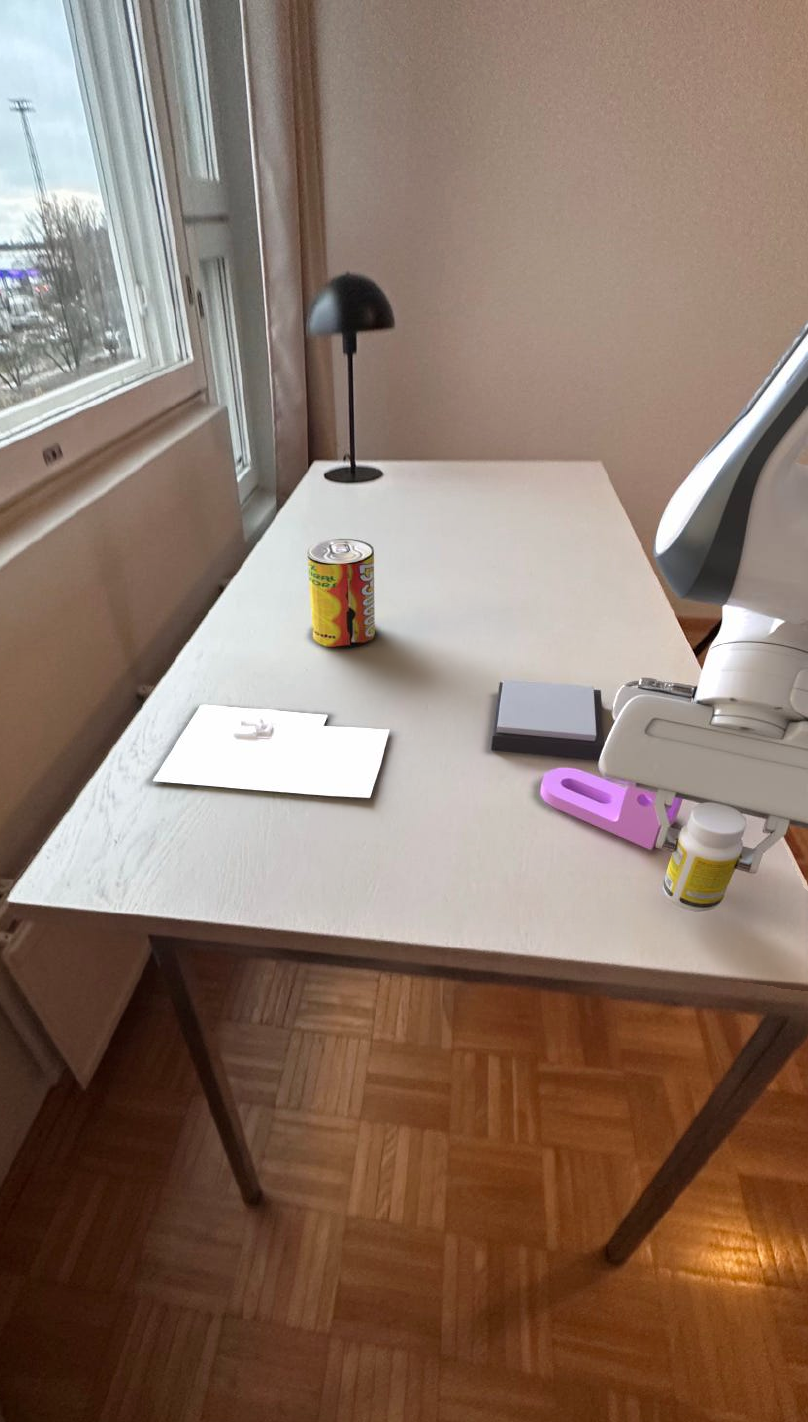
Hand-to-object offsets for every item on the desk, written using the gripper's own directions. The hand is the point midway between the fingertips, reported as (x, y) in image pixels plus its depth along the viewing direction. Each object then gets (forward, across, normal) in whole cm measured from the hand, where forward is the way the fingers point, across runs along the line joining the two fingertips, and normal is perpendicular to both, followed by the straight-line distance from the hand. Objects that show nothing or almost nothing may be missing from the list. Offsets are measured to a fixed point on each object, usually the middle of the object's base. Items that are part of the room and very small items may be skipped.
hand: (704, 860), depth 59 cm
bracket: (-3, -10, +12) cm, 16 cm away
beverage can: (-21, -52, +29) cm, 63 cm away
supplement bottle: (+3, 0, +4) cm, 5 cm away
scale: (-12, -19, +21) cm, 31 cm away
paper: (0, -45, +8) cm, 46 cm away
